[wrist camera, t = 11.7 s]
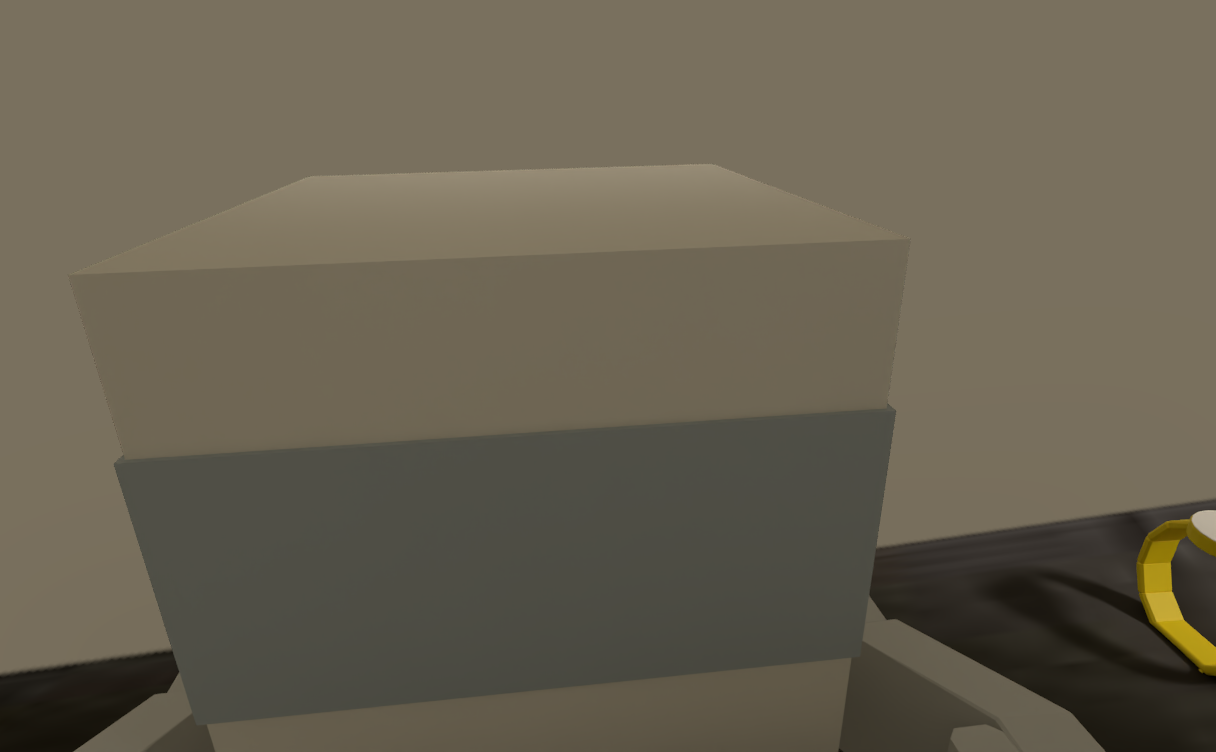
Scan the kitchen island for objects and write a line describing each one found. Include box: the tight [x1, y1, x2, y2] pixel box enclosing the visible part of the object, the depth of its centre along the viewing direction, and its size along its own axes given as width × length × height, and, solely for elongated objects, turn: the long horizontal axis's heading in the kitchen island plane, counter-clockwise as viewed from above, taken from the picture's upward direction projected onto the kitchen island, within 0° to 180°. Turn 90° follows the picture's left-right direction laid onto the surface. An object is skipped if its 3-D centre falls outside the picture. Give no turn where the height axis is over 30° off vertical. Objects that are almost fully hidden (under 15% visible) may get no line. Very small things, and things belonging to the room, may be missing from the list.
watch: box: [1137, 510, 1216, 676], centre depth 28 cm, size 6×3×6 cm, turn 3°
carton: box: [68, 164, 911, 752], centre depth 10 cm, size 6×6×13 cm
